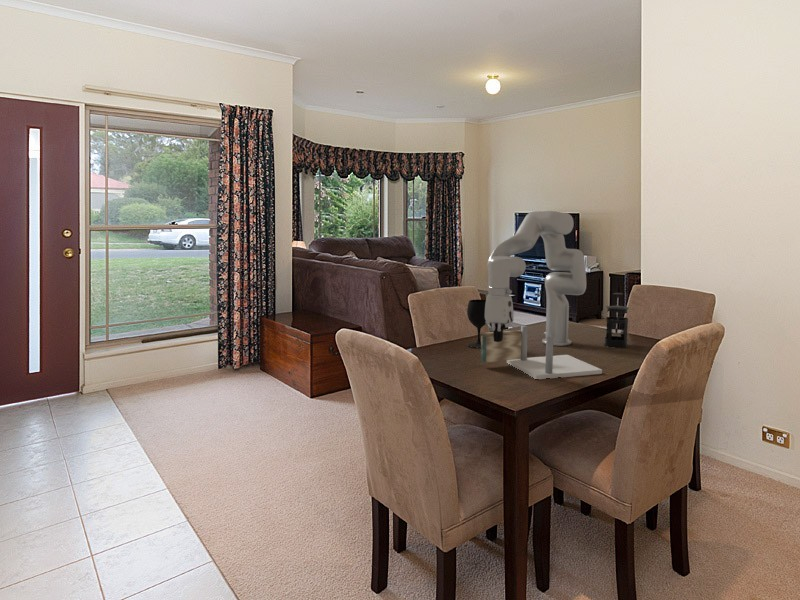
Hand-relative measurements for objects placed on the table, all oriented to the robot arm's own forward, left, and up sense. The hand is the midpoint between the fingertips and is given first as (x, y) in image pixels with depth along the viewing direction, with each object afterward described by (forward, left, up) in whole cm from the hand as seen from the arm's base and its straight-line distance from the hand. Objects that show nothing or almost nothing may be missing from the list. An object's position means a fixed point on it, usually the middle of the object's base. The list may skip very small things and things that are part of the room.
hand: (498, 341), depth 204 cm
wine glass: (-36, +7, -11) cm, 38 cm away
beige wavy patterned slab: (-3, +3, -8) cm, 9 cm away
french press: (-19, +64, -11) cm, 68 cm away
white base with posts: (+6, +19, -10) cm, 23 cm away
